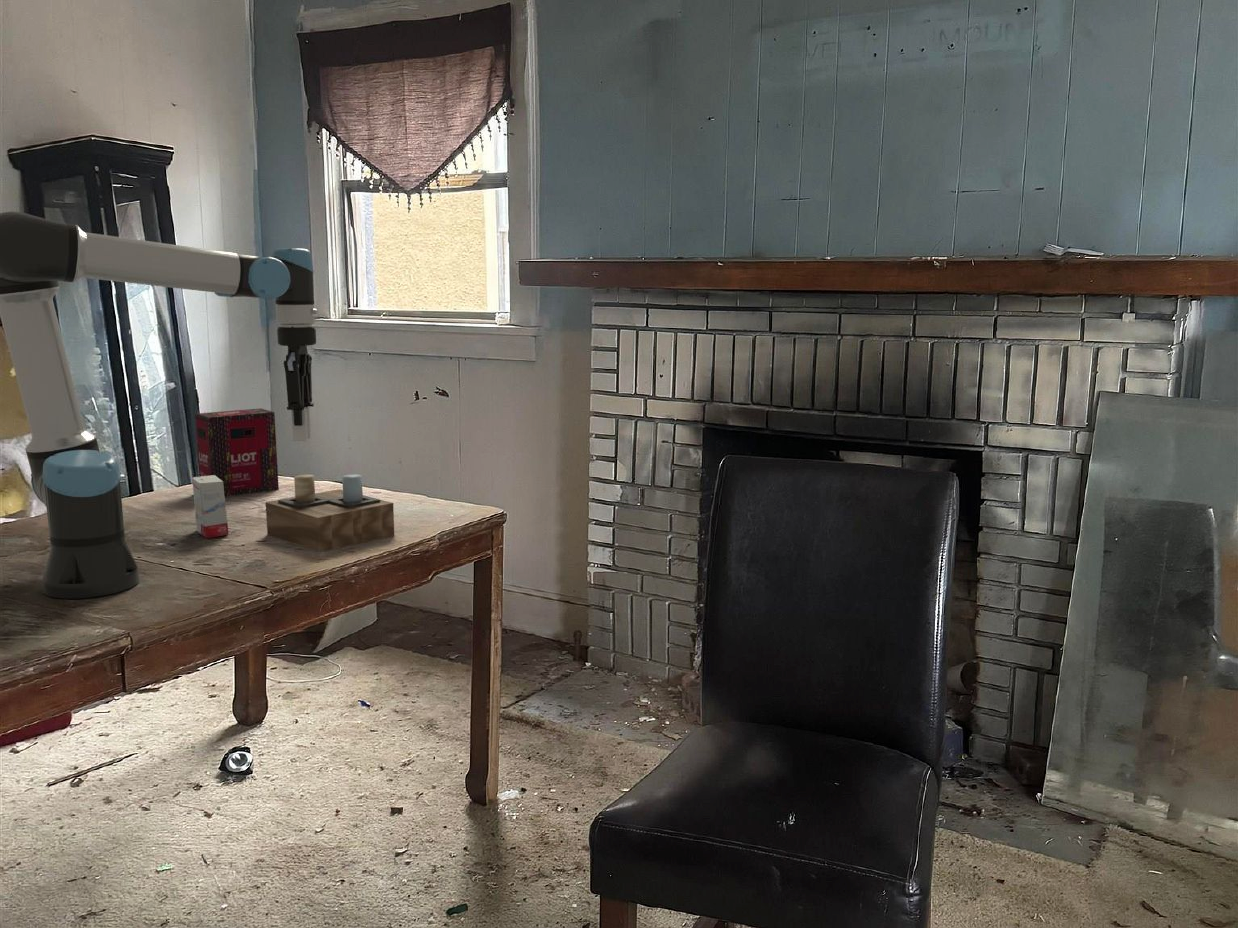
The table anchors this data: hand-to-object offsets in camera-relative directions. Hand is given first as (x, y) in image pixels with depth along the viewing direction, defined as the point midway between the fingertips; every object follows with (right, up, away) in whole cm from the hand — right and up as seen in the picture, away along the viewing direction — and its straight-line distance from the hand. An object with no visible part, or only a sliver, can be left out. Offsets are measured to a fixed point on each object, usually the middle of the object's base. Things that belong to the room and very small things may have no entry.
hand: (302, 439), depth 211 cm
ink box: (-21, -20, +5) cm, 29 cm away
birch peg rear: (0, -15, +3) cm, 15 cm away
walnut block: (+5, -20, +4) cm, 21 cm away
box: (-30, -12, +46) cm, 56 cm away
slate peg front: (+10, -15, +3) cm, 18 cm away
